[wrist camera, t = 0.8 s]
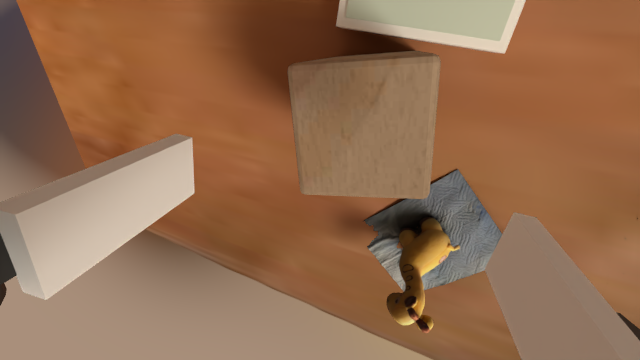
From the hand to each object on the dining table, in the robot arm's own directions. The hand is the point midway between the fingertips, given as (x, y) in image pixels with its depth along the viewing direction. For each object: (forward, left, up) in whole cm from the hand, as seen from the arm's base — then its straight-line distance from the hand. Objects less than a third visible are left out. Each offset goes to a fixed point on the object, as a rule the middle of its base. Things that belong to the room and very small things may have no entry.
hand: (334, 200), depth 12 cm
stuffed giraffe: (+19, +13, -30) cm, 38 cm away
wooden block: (0, 0, -30) cm, 30 cm away
